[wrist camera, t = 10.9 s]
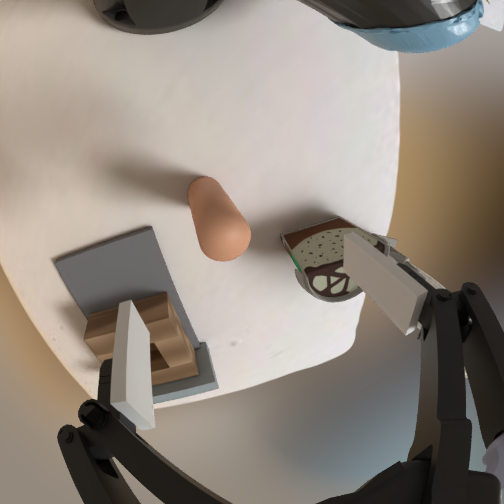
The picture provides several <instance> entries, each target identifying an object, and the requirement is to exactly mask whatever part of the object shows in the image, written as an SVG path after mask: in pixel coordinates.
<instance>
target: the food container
mask: <svg viewBox="0 0 504 504" xmlns="http://www.w3.org/2000/svg"><path fill="white" fill-rule="evenodd" d="M352 232H355V233H356V234H358V235H359V236H360V237H362V238H363V239H364V240H366V241H367V242H368V243H370V244H371V245H372V246H374V247H375V248H376V249H377V250H379V251H380V252H381V253H383V254H384V255H385V256H386V257H388V255H389V250H390V246H389V245H388V242H387V241H386V240H385V239H384V238H382V241H381V240H380V239H378V238H376V237H375V236H373V235H371V234H370V233H368V232H366V231H365V230H363V229H361V228H359V227H358V226H356V225H354V224H353V223H351V222H349V221H347V220H345V219H344V218H342V217H336V218H333V219H330V220H327V221H323V222H320V223H317V224H313V225H310V226H307V227H304V228H300V229H297V230H294V231H290V232H287V233H284V234H281V240H282V243H283V244H284V246H285V248H286V249H287V251H288V253H289V255H290V256H291V258H292V260H293V262H294V263H295V265H296V267H297V269H298V270H299V271H298V270H296V269H295V274H296V277H297V280H298V282H299V283H300V285H301V286H302V287H303V288H304V289H305V290H306V291H307V292H308V293H310V294H311V295H312V296H314V297H316V298H317V299H320V300H322V301H326V302H332V303H334V302H342V301H346V300H348V299H351V298H353V297H355V296H357V295H358V294H360V293H361V292H363V290H362V289H361V288H360V287H359V286H358V285H357V284H356V283H355V282H354V281H353V280H352V279H351V278H350V277H349V276H348V275H347V274H346V273H345V272H344V271H343V264H344V235H345V234H348V233H352Z"/></svg>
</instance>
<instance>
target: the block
mask: <svg viewBox="0 0 504 504" xmlns="http://www.w3.org/2000/svg"><path fill="white" fill-rule="evenodd" d="M133 304H134V306H135V308H136V310H137V311H138V313H139V315H140V317H141V319H142V320H143V322H144V324H145V326H146V328H147V329H148V331H149V333H150V365H151V383H152V386H154V385H159V384H163V383H167V382H172V381H176V380H180V379H184V378H188V377H192V376H196V375H199V371H198V366H197V361H196V356H195V351H194V348H193V346H192V344H191V342H190V340H189V338H188V336H187V334H186V332H185V330H184V328H183V326H182V324H181V321H180V319H179V317H178V315H177V313H176V311H175V309H174V306H173V304H172V302H171V300H170V297H169V295H168V293H167V292H166V293H162V294H159V295H155V296H152V297H149V298H145V299H142V300H138V301H135V302H133ZM118 310H119V306H117V307H114V308H110V309H107V310H103V311H100V312H96V313H92V314H90V315H89V319H88V323H87V327H86V331H85V336H84V341H85V342H86V344H87V345H88V346H89V348H90V349H91V350H92V352H93V353H94V354H95V355H96V357H97V358H98V359H99V360H100V361H101V363H103V361H104V360H106V359H111V358H113V351H114V341H115V332H116V324H117V317H118Z"/></svg>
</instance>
